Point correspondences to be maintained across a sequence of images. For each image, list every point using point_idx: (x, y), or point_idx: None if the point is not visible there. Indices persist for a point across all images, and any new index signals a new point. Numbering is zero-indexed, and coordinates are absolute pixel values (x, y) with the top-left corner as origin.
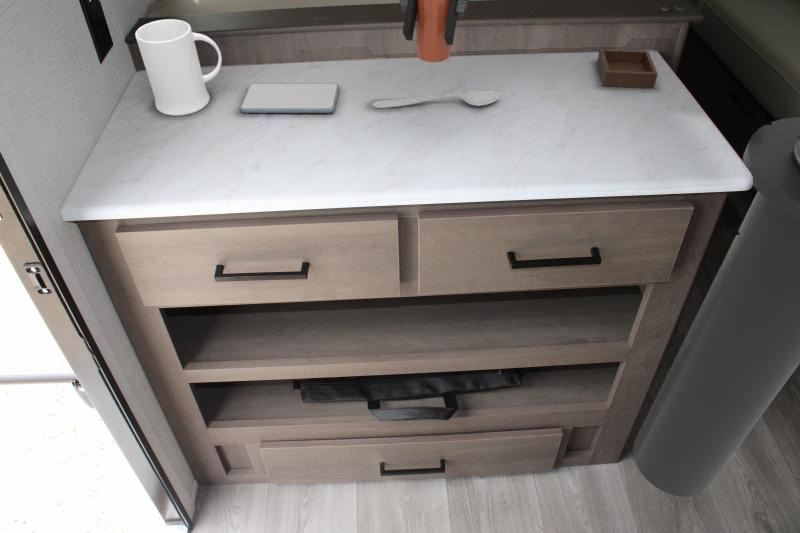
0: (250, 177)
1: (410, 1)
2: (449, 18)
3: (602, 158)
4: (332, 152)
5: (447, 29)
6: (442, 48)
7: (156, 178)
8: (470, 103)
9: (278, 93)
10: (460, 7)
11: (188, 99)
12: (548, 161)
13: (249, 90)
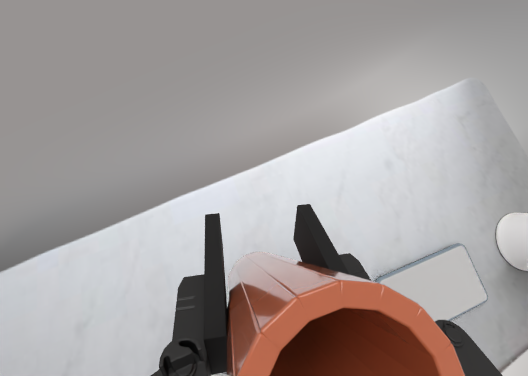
0: (383, 149)
1: (331, 253)
2: (215, 243)
3: (21, 319)
4: (337, 211)
5: (214, 223)
6: (236, 264)
7: (449, 124)
8: (221, 374)
9: (449, 290)
10: (193, 285)
11: (515, 224)
12: (96, 284)
13: (480, 283)
